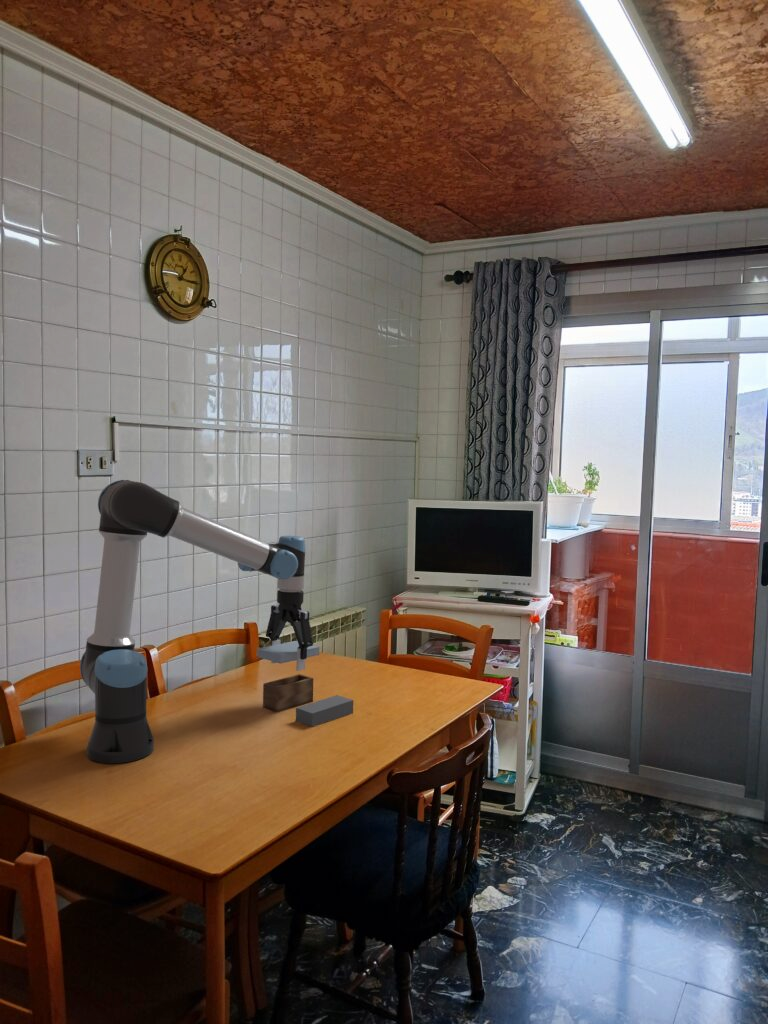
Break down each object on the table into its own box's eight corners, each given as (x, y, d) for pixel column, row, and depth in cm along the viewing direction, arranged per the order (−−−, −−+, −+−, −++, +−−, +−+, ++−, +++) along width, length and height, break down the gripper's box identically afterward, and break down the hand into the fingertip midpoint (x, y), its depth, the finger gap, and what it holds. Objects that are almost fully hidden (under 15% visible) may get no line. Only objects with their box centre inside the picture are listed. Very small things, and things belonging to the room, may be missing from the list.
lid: (280, 663, 210) (280, 655, 210) (256, 656, 217) (257, 648, 216) (319, 655, 222) (319, 646, 221) (295, 648, 228) (295, 640, 228)
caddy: (276, 712, 213) (277, 688, 213) (262, 707, 217) (263, 683, 216) (312, 701, 224) (313, 678, 223) (298, 696, 228) (299, 674, 227)
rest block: (312, 727, 202) (312, 713, 202) (295, 721, 207) (296, 707, 206) (353, 712, 215) (353, 700, 214) (336, 707, 219) (337, 695, 218)
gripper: (327, 594, 214) (324, 671, 215) (274, 583, 228) (271, 656, 229) (308, 596, 208) (305, 676, 209) (254, 585, 222) (252, 660, 224)
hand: (287, 666), depth 219 cm, fingers closed on lid, 10 cm apart
